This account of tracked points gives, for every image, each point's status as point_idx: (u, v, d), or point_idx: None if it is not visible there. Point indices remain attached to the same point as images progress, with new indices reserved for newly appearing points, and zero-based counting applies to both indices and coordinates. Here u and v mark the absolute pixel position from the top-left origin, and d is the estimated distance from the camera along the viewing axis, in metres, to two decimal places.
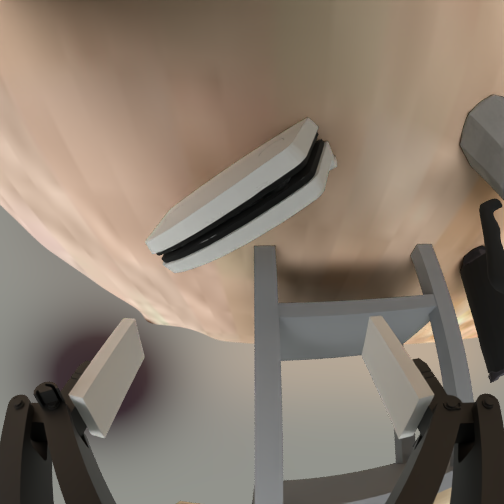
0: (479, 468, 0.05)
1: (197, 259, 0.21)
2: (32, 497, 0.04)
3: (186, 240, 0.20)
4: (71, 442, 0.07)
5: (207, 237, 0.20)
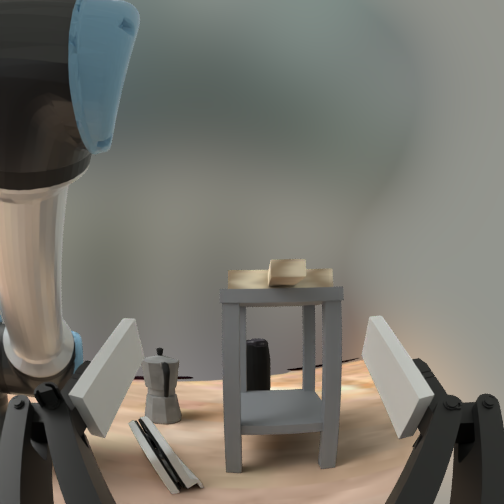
0: (479, 468, 0.05)
1: (153, 430, 0.34)
2: (32, 497, 0.04)
3: (144, 434, 0.33)
4: (71, 442, 0.07)
5: (146, 430, 0.35)
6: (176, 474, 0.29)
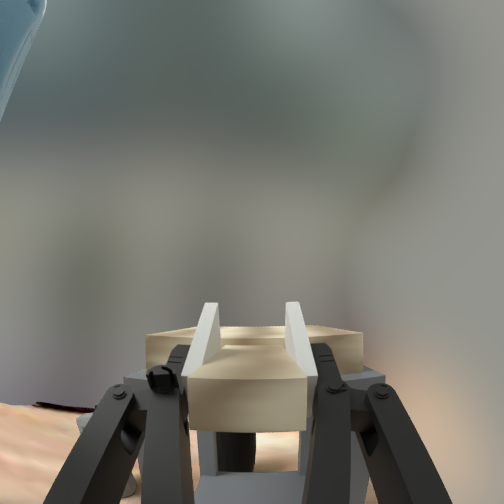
0: (394, 462, 0.06)
1: None
2: (99, 492, 0.06)
3: None
4: (173, 431, 0.08)
5: None
6: None
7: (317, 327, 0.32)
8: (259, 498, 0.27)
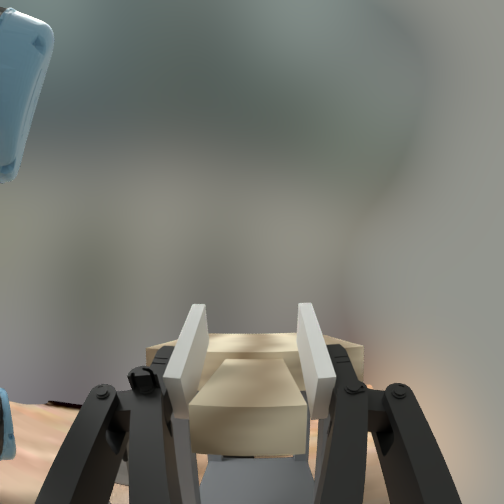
0: (408, 461, 0.06)
1: None
2: (88, 492, 0.05)
3: None
4: (156, 431, 0.08)
5: None
6: None
7: None
8: (259, 479, 0.34)
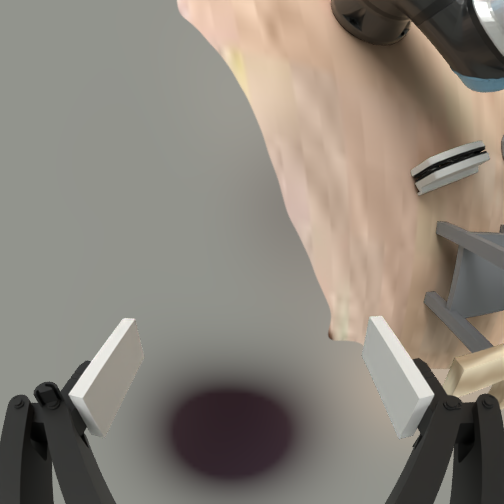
0: (479, 468, 0.05)
1: (459, 165, 0.36)
2: (32, 497, 0.04)
3: (456, 156, 0.36)
4: (71, 442, 0.07)
5: (463, 158, 0.36)
6: (423, 177, 0.42)
7: None
8: (502, 277, 0.42)
